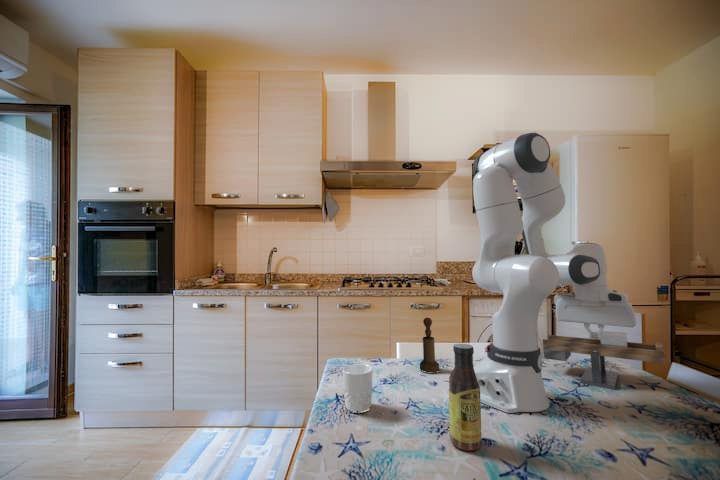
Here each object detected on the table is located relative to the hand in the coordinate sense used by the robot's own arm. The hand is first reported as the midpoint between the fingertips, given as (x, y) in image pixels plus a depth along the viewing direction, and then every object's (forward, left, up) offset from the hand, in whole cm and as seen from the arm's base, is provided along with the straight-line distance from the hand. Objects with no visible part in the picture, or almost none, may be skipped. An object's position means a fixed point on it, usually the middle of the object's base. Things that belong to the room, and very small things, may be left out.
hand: (595, 338), depth 97 cm
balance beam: (+1, 0, -7) cm, 7 cm away
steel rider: (+5, 0, -2) cm, 5 cm away
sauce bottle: (-16, -59, -13) cm, 63 cm away
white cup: (-44, -62, -13) cm, 77 cm away
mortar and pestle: (-44, -26, -13) cm, 53 cm away
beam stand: (0, 0, -12) cm, 12 cm away
